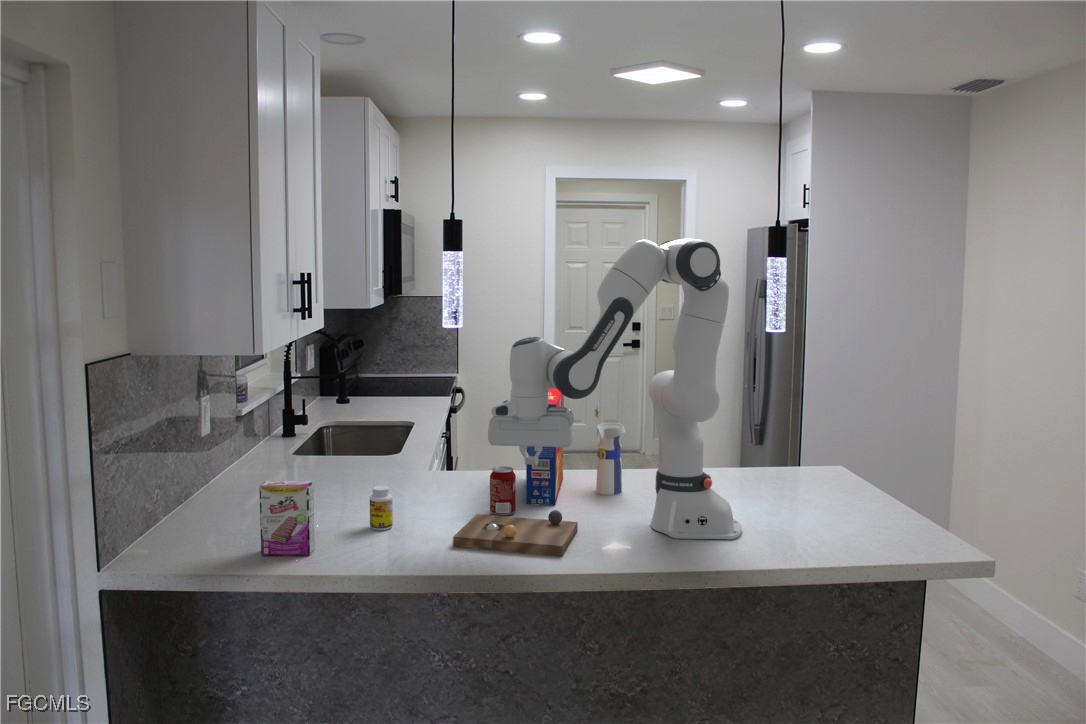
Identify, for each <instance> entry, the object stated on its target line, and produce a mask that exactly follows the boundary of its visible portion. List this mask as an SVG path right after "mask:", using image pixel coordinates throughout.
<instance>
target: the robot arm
mask: <svg viewBox="0 0 1086 724" xmlns="http://www.w3.org/2000/svg"><path fill="white" fill-rule="evenodd" d="M721 276H722V273H721V258H720V253H719V252H718V249H717V248H716V247H715V246H714V245H713V244H712V243H710V242H709V241H707V240H704V239H701V238H680V239H674V240H668V241H665V242H661V243H660V244H658V243H656V242H654V241H653V240H652V241H651V240H649V239H640V240H637V241H636V242H634V243H633V244H632V245H631V246H630V247H628V248H627V250H625V251H624V252H623V253H622V254H621V256H619V258H618V259H617V260H616V262H614V264H613V266H612V267H611V268H610V269H609V270H608V272H607V273H606V275H605V276H604V278H603V279H602V281H601V283H600V285H599V288H598V289H597V302H598V305H599V309H600V311H599V312H600V313H599V317H598V320H597V321H596V323H595V325H593V328H592V330H590V332H589V334H588V335H587V337H586V339H584V342H583V343H582V344H581V346H580V347H579V348H578V349H577V350H575V351H573V350H569V349H566V348H563V347H560V346H557V345H555V344H552V343H550V342H548V341H547V340H545V339H544V338H543V337H541V336H532V337H525V338H521V339H519V340H517V341H516V342H514V343H513V344H512V346H511V349H510V353H509V379H510V381H511V390H510V395H509V396H510V399H506V400H504V401H501V402H499V403H496V404H495V405H493V406H492V408H491V409H490V410H491V411H490V413H491V416H492V417H491V418H490V419H489V421H488V429H487V441H488V443H489V444H490V445H491V446H499V447H500V446H501V447H502V446H503V447H504V446H505V447H519V452H520V454H521V455H522V457H523V459H524V465H537V464H538V456H539V454H540V453H541V451H542V447H563V448H570V446H572V444H573V443H574V441H575V440H574V438H575V437H574V429H573V424H574V422H575V421H574V420H575V419H574V413H573V412H572V410H571V409H568V407H561V408H558V407H548V390H549V389H557V390H559V391H560V392H561V393H562V394H563V395H564V397H566V398H568V399H572V400H578V399H584V398H586V397H588V396H589V395H591V394H592V393H593V392H594V391H595V389H597V386H598V384H599V381H600V377H601V375H602V370H603V367H604V364H605V362H606V361H607V359H608V358H609V356H610V354H611V353H612V351H613V350H614V348H615V347H616V345H617V343H618V342H619V340H620V339H621V338H622V335H623V334H624V332H625V330H626V329H627V328H628V325H629V324H630V322H631V320H632V319H633V317H634V316H635V314H636V313H637V312H638V311H639V309H640V308H641V306H642V305H643V303H645V301H646V299H647V298H648V297H649V296H650V294H651V293H652V292H653V290H654V288H655V287H656V286H657V285H658V284H659V283H660V282H665V283H668V284H674V285H679V286H681V287H682V288H681V289H682V292H683V302H682V305H681V309H680V312H679V316H678V320H677V324H676V327H675V331H674V335H673V339H672V340H673V341H672V350H673V353H674V354H673V355H674V366H673V369H670V370H669V369H668V370H663V371H660V372H657V374H655V375H654V376H653V377H652V378H651V380H650V382H649V384H648V396H649V398H650V400H651V403H652V406H653V413H654V419H655V424H656V431H657V439H658V441H657V442H658V447H657V448H658V449H657V450H658V451H657V452H658V453H657V454H658V458H657V459H658V461H657V464H658V465H657V470H656V473H655V484H654V485H655V487H654V488H655V489H654V490H655V493H656V495H655V504H654V505H655V506H654V509H653V513H652V518H651V520H650V523H649V524H650V525H649V526H650V527H651V528H652V529H653V530H654V531H657V532H659V533H663V534H665V535H667V536H669V538H671V539H688V540H689V539H691V540H692V539H693V540H695V539H696V540H735V539H738V538H739V537H740V536H741V535H742V531H743V529H742V524H741V523H740V522H739V521H738V520H736V519H734V513H733V510H732V507H731V505H730V503H729V502H728V501H727V500H726V499H725V498H724V497H722V496H721V495H719V494H718V492H716V491H715V490H714V489H713V488H711V487H712V486H713V480H712V477H711V475H710V474H709V473H706V472H704V445H705V444H704V439H703V437H702V435H701V433H700V429H699V425H698V423H702V422H706V421H709V420H711V419H712V418H713V417H714V416H715V415H716V413H717V411H718V409H719V406H720V396H719V393H718V391H717V384H716V383H717V382H716V381H717V378H716V375H717V371H716V370H717V357H718V356H717V355H718V351H719V347H720V343H721V338H722V334H723V329H724V327H725V322H726V318H727V313H728V308H729V307H728V305H729V296H730V295H729V294H730V293H729V291H730V288H729V284H728V283H727V282H726V281H725V280H724V279H723V278H722V277H721ZM527 446H534V447H535V451H537V452H536V454H535V456H529V455H528V453H527V451H526V449H527Z"/></svg>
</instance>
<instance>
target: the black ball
mask: <svg viewBox="0 0 1086 724" xmlns="http://www.w3.org/2000/svg"><path fill="white" fill-rule="evenodd" d="M547 517H548V519H547V520H549V521H550V523H552V524H559V523H560V522H561V521H563V515H562V513H561V512H560V510H556V509H554V510H552V511H550V512H549V513H548V516H547Z"/></svg>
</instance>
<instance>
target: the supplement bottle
mask: <svg viewBox="0 0 1086 724" xmlns="http://www.w3.org/2000/svg"><path fill="white" fill-rule="evenodd" d="M393 523H394V521H393V495H392V494H391V493H390V487H388V486H386V485H377V486H374V487H372V494H371V495H370V496H369V528H370V529H371V530H373V531H378V532H379V531H388V530H390V529H391V528H392V527H393V525H394V524H393Z"/></svg>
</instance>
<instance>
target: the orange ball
mask: <svg viewBox="0 0 1086 724" xmlns="http://www.w3.org/2000/svg"><path fill="white" fill-rule="evenodd" d="M516 532H517V530H516V528H515V526H513V525H507V526H506V527H505V528H504V534H505V536H506V537H508V538H512V537H514V536H515V535H516Z"/></svg>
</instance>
